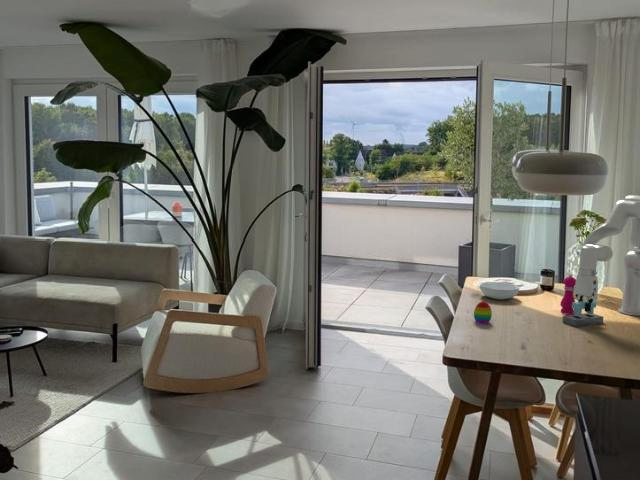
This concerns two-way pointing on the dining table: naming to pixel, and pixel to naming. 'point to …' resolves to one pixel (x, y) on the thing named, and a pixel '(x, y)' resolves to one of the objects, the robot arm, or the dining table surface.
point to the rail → (582, 319)
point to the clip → (582, 307)
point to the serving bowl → (499, 290)
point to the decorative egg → (482, 312)
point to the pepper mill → (568, 295)
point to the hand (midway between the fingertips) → (583, 309)
